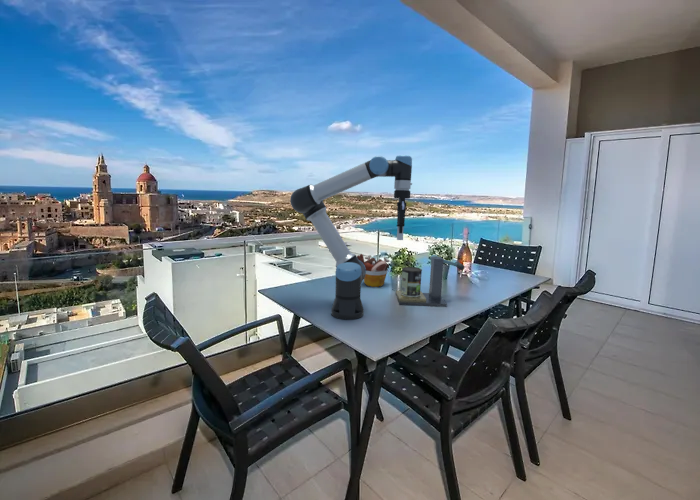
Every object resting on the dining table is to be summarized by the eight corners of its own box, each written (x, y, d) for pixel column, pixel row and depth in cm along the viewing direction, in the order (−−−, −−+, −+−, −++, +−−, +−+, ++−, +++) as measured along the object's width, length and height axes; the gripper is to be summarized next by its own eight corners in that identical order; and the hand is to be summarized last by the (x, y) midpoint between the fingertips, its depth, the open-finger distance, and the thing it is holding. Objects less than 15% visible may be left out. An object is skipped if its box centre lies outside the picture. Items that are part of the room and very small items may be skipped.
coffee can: (423, 294, 174) (425, 268, 171) (415, 298, 166) (416, 272, 163) (406, 290, 180) (407, 266, 177) (397, 294, 172) (398, 269, 169)
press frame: (399, 305, 164) (401, 260, 160) (395, 294, 182) (397, 253, 178) (446, 306, 164) (449, 261, 160) (438, 295, 181) (441, 255, 177)
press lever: (431, 262, 171) (434, 255, 171) (428, 259, 179) (430, 252, 178) (462, 271, 171) (465, 264, 171) (458, 268, 179) (460, 261, 179)
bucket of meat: (384, 280, 211) (385, 251, 208) (392, 287, 195) (394, 255, 192) (354, 281, 207) (355, 251, 204) (360, 289, 191) (361, 256, 188)
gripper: (412, 189, 143) (409, 241, 147) (408, 190, 156) (405, 238, 160) (395, 189, 144) (393, 241, 147) (392, 190, 156) (390, 237, 160)
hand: (399, 239), depth 154 cm, fingers closed
